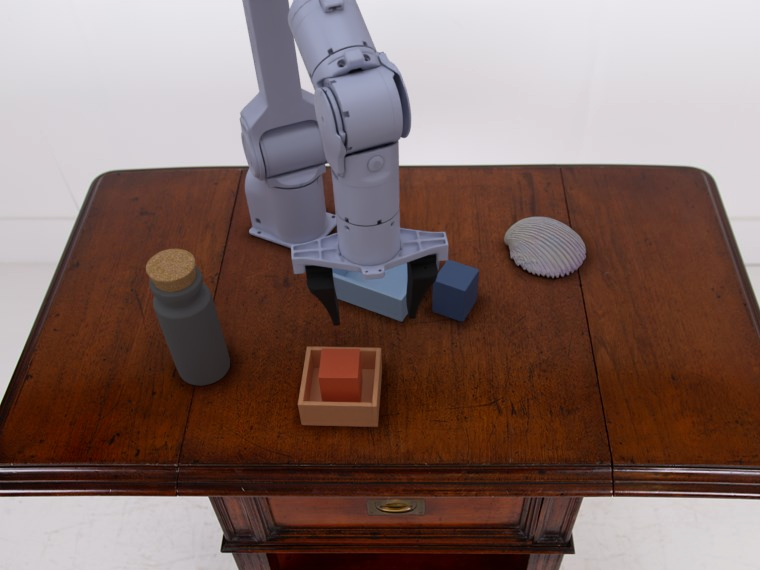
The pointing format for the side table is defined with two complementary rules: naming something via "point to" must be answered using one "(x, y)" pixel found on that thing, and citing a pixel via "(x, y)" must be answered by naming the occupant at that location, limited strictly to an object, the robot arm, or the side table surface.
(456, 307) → the slate block
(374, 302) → the bin
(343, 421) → the warm bin
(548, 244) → the seashell
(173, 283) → the bottle
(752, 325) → the side table surface
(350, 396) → the terracotta block
